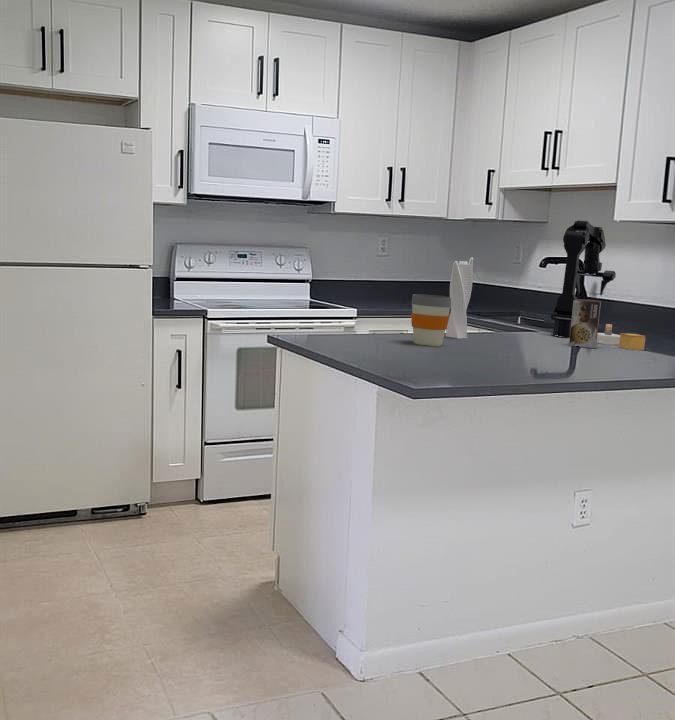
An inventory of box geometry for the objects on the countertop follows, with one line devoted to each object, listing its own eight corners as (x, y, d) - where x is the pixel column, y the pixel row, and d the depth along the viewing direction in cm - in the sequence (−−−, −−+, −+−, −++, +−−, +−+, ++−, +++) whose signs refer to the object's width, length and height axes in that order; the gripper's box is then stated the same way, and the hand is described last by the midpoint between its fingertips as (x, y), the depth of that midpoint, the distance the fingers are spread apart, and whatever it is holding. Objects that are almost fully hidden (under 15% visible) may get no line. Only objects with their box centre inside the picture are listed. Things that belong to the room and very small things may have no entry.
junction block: (604, 344, 308) (606, 325, 307) (587, 340, 318) (589, 322, 317) (626, 345, 312) (629, 326, 311) (609, 341, 321) (611, 323, 320)
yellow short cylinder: (629, 349, 297) (631, 335, 296) (618, 347, 302) (620, 333, 301) (643, 350, 299) (645, 336, 298) (632, 347, 304) (634, 333, 303)
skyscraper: (473, 339, 294) (481, 257, 290) (459, 340, 288) (467, 257, 284) (453, 336, 299) (460, 256, 295) (439, 337, 294) (447, 255, 290)
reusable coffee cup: (421, 346, 261) (426, 297, 259) (400, 340, 272) (404, 293, 270) (455, 346, 267) (460, 298, 264) (433, 341, 278) (437, 294, 275)
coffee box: (596, 347, 297) (601, 300, 295) (595, 348, 291) (601, 301, 289) (569, 344, 300) (574, 298, 298) (568, 345, 294) (573, 299, 292)
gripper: (620, 254, 348) (617, 291, 354) (574, 251, 357) (572, 287, 363) (613, 260, 339) (610, 298, 345) (566, 257, 348) (565, 294, 354)
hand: (589, 294), depth 352 cm, fingers open, 9 cm apart
